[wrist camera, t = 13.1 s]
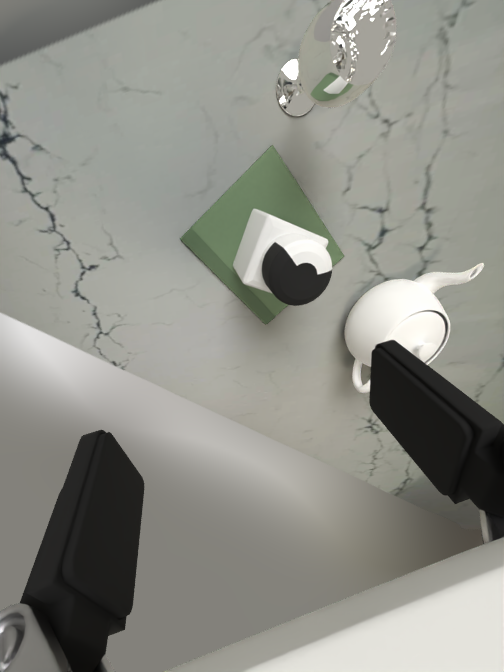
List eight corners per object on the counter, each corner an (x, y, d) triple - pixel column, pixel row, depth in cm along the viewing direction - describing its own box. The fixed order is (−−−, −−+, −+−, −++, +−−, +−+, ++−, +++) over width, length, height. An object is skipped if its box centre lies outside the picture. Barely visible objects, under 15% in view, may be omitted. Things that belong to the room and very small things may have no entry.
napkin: (180, 238, 33) (180, 239, 32) (271, 145, 30) (272, 145, 30) (265, 323, 41) (266, 325, 40) (343, 255, 38) (344, 256, 38)
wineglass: (300, 137, 30) (361, 117, 20) (258, 95, 28) (303, 47, 18) (335, 82, 29) (421, 29, 19) (293, 31, 26) (366, -62, 16)
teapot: (366, 378, 50) (407, 423, 41) (307, 353, 45) (339, 399, 36) (456, 269, 43) (530, 293, 34) (399, 223, 38) (469, 238, 28)
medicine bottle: (281, 282, 38) (319, 322, 27) (231, 266, 35) (252, 302, 25) (304, 229, 35) (356, 251, 25) (252, 207, 32) (285, 220, 22)
